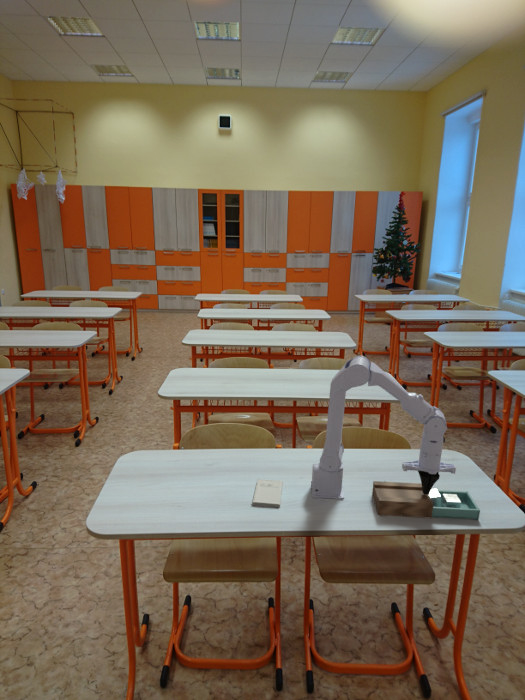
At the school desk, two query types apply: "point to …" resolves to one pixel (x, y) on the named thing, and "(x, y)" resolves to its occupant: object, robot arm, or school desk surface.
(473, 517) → the tray
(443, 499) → the light grey block
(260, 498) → the external hard drive
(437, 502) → the grey square block
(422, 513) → the channel block
